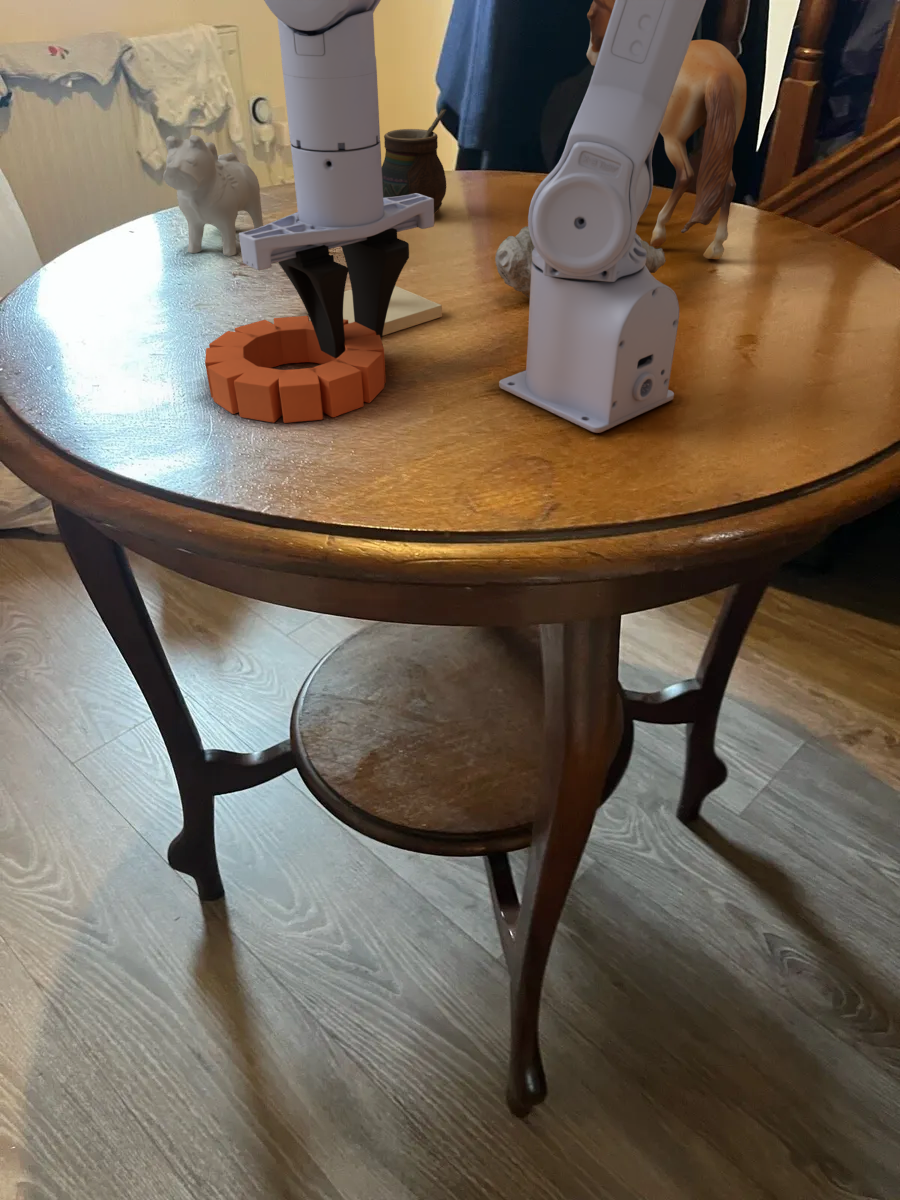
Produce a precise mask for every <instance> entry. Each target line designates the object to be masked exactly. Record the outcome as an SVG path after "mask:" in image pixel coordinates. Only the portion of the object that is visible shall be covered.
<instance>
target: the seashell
mask: <svg viewBox="0 0 900 1200" xmlns="http://www.w3.org/2000/svg"><path fill="white" fill-rule="evenodd" d="M638 238H639V240H640V242H641V244H642V248H644V249H645V250H646V252H647V255H646V264H645V265H646V267H647V269H648V270H649V272H650V273H651V274H655V273H656V272H657V271H658V270H659V269H660V268H661V267H662V266H664V265H665V263H666V261H667V260H666V256H665V251H664V250H663V248H662V247H659V248H656V247H653V246H651V245H650V244H649V243H648V242H647V241H646V240H643V239H642V238H641V236H640V235H638ZM534 248H535V247H534V245H533V242H532V239H531V237H530V232H529V227H528V225H527V226H523V227H522V228H521V229H520V230H519V232H518V233H517V234H516V235H515V236H514V235H509V236H507V238H505V239H504V240H503V241H502V242H501V243H500V244H499V246H498V248H497V250H496V252H495V257H494V258H495V259H494V261H495V266H496V270H497V273H498V274H499V276H500V279H502V280H503V281H504V284H505V285H507V286H508V287H512V288H513V289H514V290H515V291H517V292H520V293H521V294H523V295H525V296H526V297H527V298H528V299H530V284H531V264H532V251H533V250H534Z"/></svg>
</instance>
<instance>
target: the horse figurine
mask: <svg viewBox="0 0 900 1200" xmlns="http://www.w3.org/2000/svg"><path fill="white" fill-rule="evenodd" d="M615 1H616V0H593V1H592V3H591V4H590V8H589V11H588V12H587V14H586V18H587V20H588V22H589V28H590V39H589V45H588V49H587V52H586V58H587V59H588V61H589V62H590V64H591V66H594V67H595V65H596V62H597V58H598V55H599V52H600V49H601V46H602V42H603V39H604V36H605V33H606V29H607V26H608V23H609V20H610V17H611V13H612V10H613V7H614V4H615ZM746 105H747V78H746V74H745V72H744V69H743V68H742V66H741V65H740V63H739V62H738V60H737V58H736V57H735V56H734V55H733V53H732V52H731V51H730V50H729V49H728V48H727V47H726V46H724V45H723V44H722V43H719V42H717V41H715V40H710V39H694V40H691V42H690V45H689V48H688V51H687V53H686V56H685V59H684V61H683V64H682V67H681V70H680V72H679V75H678V78H677V80H676V83H675V86H674V89H673V91H672V94H671V97H670V99H669V102H668V105H667V109H666V112H665V115H664V118H663V121H662V125H661V128H660V131H659V134H660V135H661V136H662V137H663V141H664V142H663V143H664V151H665V154H666V156H667V158H668V160H669V161H670V163H671V164H672V165H673V167H674V169H675V171H676V172H675V173H676V174H675V179H674V180H675V181H674V184H673V188H672V191H671V193H670V194H669V196H668V199H667V200H666V202H665V203H664V205H663V207H662V209H661V210H660V211H659V213H658V215H657V219H656V224H655V226H654V228H653V230H652V235H651V239H650V244H649V245H650V246H653V247H654V248H660V247H661V246H662V245H663V244H664V243H665V242H666V240H667V232H666V231H667V229H666V224H668V223H669V221H670V220H671V218H672V216H673V214H674V211H675V209H676V207H677V205H678V203H679V201H680V199H681V198H682V196H683V195H684V193H686V191H687V190H688V189H689V187H690V186H691V185H692V183H693V180H694V177H695V171H694V169H693V167H692V165H691V163H690V159H689V157H688V152H687V141H688V140H689V138H690V137H692V136H693V135H694V133H695V132H696V131H698V129H700V128H701V127H702V128H703V129H704V134H703V140H702V153H701V158H700V165H699V169H698V173H697V177H696V185H695V187H696V188H695V189H696V190H695V192H696V193H695V203H694V207H693V211H692V214H691V216H690V219H688V221H687V222H686V223H685V224H684V226H683V228H682V229H681V231H680V232H681V233H682V234H684V233H686V232H688V231H689V230H690V229H691V228H692V227H693V226H695V225H696V224H700V225H704V226H707V225H710V223H711V221H712V220H713V218H714V217H715V215H716V214H717V213H718V211H719V217H718V218H719V220H718V225H717V228H716V231H715V236H714V239H713V240H712V241H711V242H710V243H709V245H708V246H707V248H706V249H705V251H704V252H703V253H702V256H703V257H704V258H705V259H708V260H720V259H721V258H722V257H723V255H724V251H725V248H724V245H723V244H724V243H725V241H727V239H728V237H729V231H728V223H729V216H730V210H731V209H730V208H731V204H732V201H733V199H734V196H735V191H736V189H737V188H736V187H737V183H736V179H735V178H734V173H733V170H732V168H733V162H734V147H735V144H736V141H737V139H738V136H739V134H740V130H741V128H742V124H743V121H744V118H745V112H746ZM719 209H720V210H719Z"/></svg>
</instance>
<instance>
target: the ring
mask: <svg viewBox="0 0 900 1200" xmlns="http://www.w3.org/2000/svg"><path fill="white" fill-rule="evenodd" d="M343 322H344V335H345V342H344V343H345V351H344V352H343V353H342V354H341V355H340V356H339V357H338V358H334V357H332V356H330V355H328V354H326V353H325V352H323V351H321V349H320V346H319V342H318V339H317V336H316V333H315V330H314V327H313V325H312V322H311V320H310V317H309V315H299V316H284V317H274V318H273V322H271V321H268V320H267V319H262V320H258V321H254V322H251V323H247V324H244V325H240V326H237V327H234V331H231V330H227V331H225V332H224V333H223V334H221V335H220V336H218V337H217V338H215V339H214V340H212V341H211V342H210V343H208V346H209V347H206V348H205V359H204V366H205V370H206V376H207V381H208V388H209V391H210V398H212V399H213V402H214V403H215V404H217V405H218V406H219V407H221V408H222V409H224V410H225V411H227V412H229V413H230V414H231V415H235V414H239V417H240V418H244V419H251V420H256V421H262V422H269V423H272V424H273V423H275V422H276V421H278V420H279V419H280V418H281V417H282V421H283V423H284V424H287V423H288V424H289V423H298V422H309V421H321V420H324V414H325V415H327V416H329V417H331V418H335V417H338V416H340V415H344V414H346V413H350V412H352V411H355V410H358V409H360V408H363V407H364V406H365V405H364V403H371V402H372V401H373V400H374V399H375V398H376V397H377V396H378V395H379V394H380V393H381V392H382V391H383V390H384V389H385V384H386V382H387V379H386V378H387V377H386V376H387V375H386V359H385V348H384V344H383V342H382V340H381V338H380V335H376V332H375V331H373V330H371V329H369V328H367V327H365V326H363V325H361V324H359V323H357V322H353V323H349V324H348V320H346V319H343ZM300 363H301V364H302V363H314V364H319V365H316V366H313V367H307V368H294V369H293V368H291V369H278V368H276V367H278V366H282V365H287V364H300Z"/></svg>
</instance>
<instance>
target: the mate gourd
mask: <svg viewBox="0 0 900 1200" xmlns="http://www.w3.org/2000/svg"><path fill="white" fill-rule="evenodd" d="M446 112H447V109H444V108H443V107H441V109H440V111H439V114H438V115H437V116H436V117H435V119H434V120H433V122H432V123H431V125H430V126H429V127H428V129H421V128H420V129H419V128H400V129H393V130H390V131H387V132H386V133H385V134H384V136H383V137H384V138H383V139H384V142H383V143H384V147H383V148H384V149H385V153H384V160H383V162H382V164H381V165H382V185H383V198H387V197H396V196H404V195H410V194H415V193H418V194H421V195H424V196H427V197H430V198H433V199H434V215H435V214H436V213H437V212H438V211H439V210H440V209H441V207H442V204H443V200H444V198H445V196H446V192H447V177H446V173H445V168H444V166H443V163H442V162H441V159H440V157H439V156H438V146H439V141H438V134H437V133H436V132H434V131H435V129H436V128H437V126H438V125H439V123H440V121H441V119H442V118H443V117H444V115H445V114H446Z"/></svg>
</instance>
